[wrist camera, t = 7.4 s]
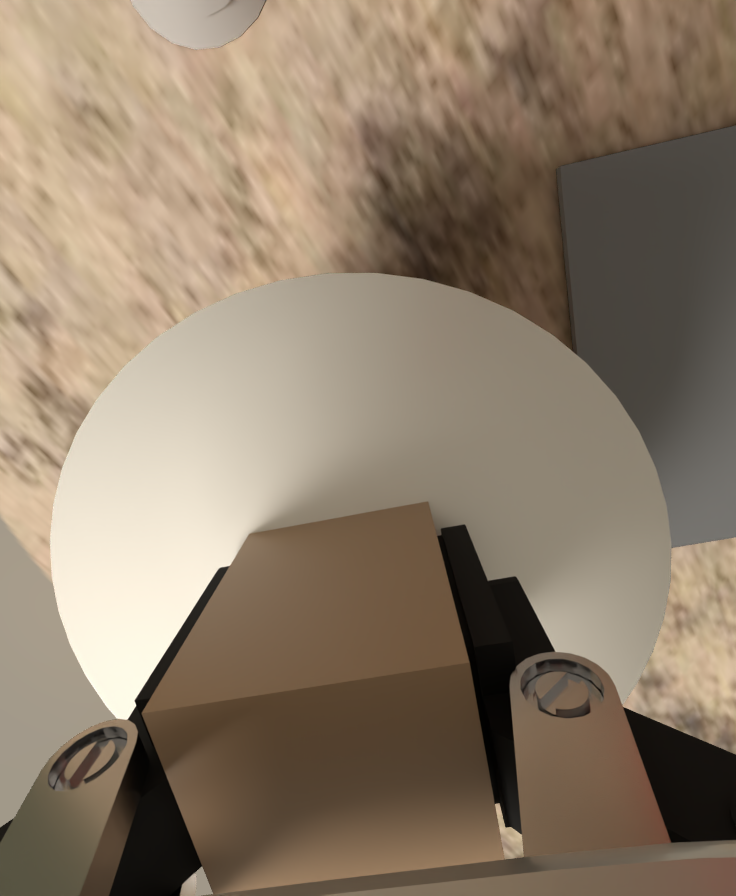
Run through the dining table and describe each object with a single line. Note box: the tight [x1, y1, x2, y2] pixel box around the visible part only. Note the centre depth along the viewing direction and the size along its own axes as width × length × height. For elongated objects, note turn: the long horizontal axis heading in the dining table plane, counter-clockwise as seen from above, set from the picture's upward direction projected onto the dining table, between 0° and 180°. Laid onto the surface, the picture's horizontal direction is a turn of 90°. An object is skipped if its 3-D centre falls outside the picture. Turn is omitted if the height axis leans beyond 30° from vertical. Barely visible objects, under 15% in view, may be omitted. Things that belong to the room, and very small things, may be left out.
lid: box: [50, 273, 671, 894], centre depth 9 cm, size 14×14×6 cm
